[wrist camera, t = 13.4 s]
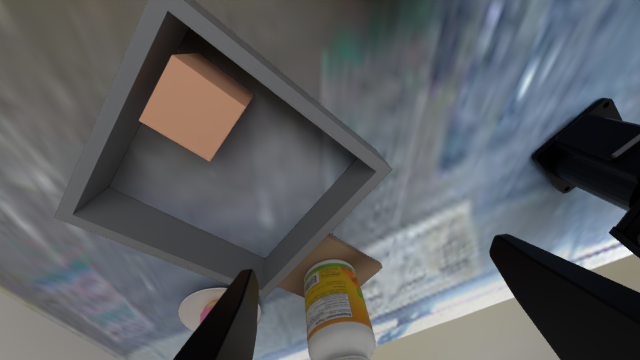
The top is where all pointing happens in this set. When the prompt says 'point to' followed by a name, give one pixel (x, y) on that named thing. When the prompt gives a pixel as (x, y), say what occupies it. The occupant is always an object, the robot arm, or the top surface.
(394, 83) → the top surface
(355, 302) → the supplement bottle
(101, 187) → the bin rim
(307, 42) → the top surface
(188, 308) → the donut
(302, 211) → the top surface
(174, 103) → the terracotta cube
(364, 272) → the walnut coaster
